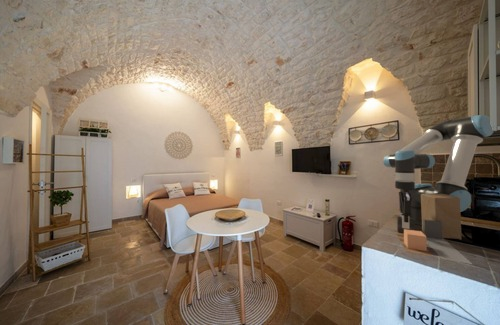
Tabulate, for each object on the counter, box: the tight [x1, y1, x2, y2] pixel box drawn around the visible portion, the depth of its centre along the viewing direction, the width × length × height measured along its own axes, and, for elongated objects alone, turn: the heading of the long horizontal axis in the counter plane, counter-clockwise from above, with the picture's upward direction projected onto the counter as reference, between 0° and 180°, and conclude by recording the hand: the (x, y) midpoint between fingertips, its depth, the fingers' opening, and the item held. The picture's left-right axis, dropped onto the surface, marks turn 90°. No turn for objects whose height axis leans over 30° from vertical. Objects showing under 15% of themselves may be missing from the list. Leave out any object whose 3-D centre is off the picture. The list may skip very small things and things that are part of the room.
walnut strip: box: [394, 215, 434, 257], centre depth 83 cm, size 24×8×9 cm, turn 151°
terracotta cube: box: [404, 229, 427, 251], centre depth 79 cm, size 6×6×6 cm
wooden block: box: [421, 194, 462, 241], centre depth 91 cm, size 10×10×20 cm
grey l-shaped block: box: [422, 219, 473, 265], centre depth 78 cm, size 24×8×9 cm, turn 151°
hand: (405, 227), depth 93 cm, fingers closed on walnut strip, 2 cm apart
